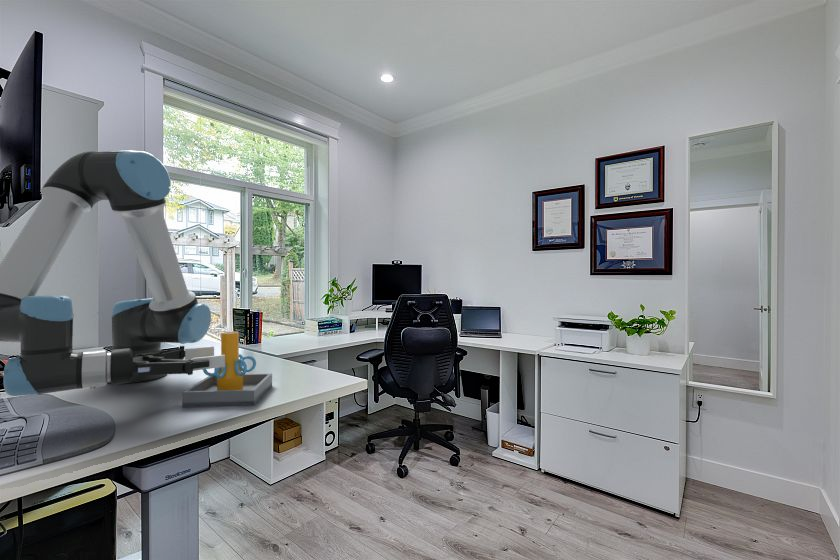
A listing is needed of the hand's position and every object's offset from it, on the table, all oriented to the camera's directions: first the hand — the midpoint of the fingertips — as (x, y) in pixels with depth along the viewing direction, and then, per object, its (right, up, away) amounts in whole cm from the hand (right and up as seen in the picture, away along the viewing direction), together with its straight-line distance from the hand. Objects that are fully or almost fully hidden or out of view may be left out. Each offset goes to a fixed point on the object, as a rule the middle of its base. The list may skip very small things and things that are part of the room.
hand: (219, 355), depth 96 cm
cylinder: (+2, -10, +2) cm, 10 cm away
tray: (+2, -11, +2) cm, 11 cm away
